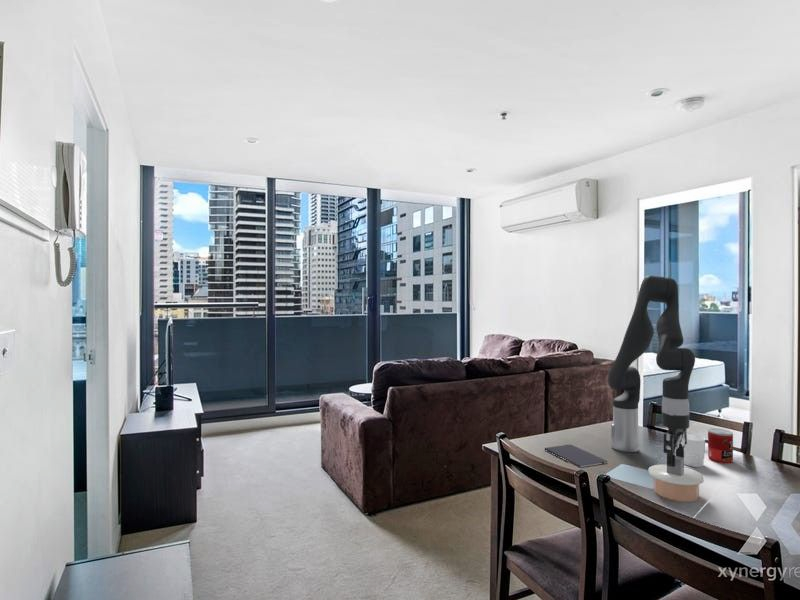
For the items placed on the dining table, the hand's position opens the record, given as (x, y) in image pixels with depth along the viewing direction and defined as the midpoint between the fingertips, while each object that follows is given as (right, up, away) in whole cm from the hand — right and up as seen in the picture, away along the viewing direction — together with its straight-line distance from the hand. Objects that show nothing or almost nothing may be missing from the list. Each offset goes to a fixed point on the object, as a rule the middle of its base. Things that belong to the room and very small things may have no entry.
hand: (675, 462), depth 149 cm
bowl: (0, -10, 0) cm, 10 cm away
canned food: (+34, -9, +30) cm, 46 cm away
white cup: (+21, -10, +26) cm, 35 cm away
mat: (-5, -10, +14) cm, 18 cm away
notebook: (-19, -11, +35) cm, 41 cm away
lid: (0, -4, 0) cm, 4 cm away
